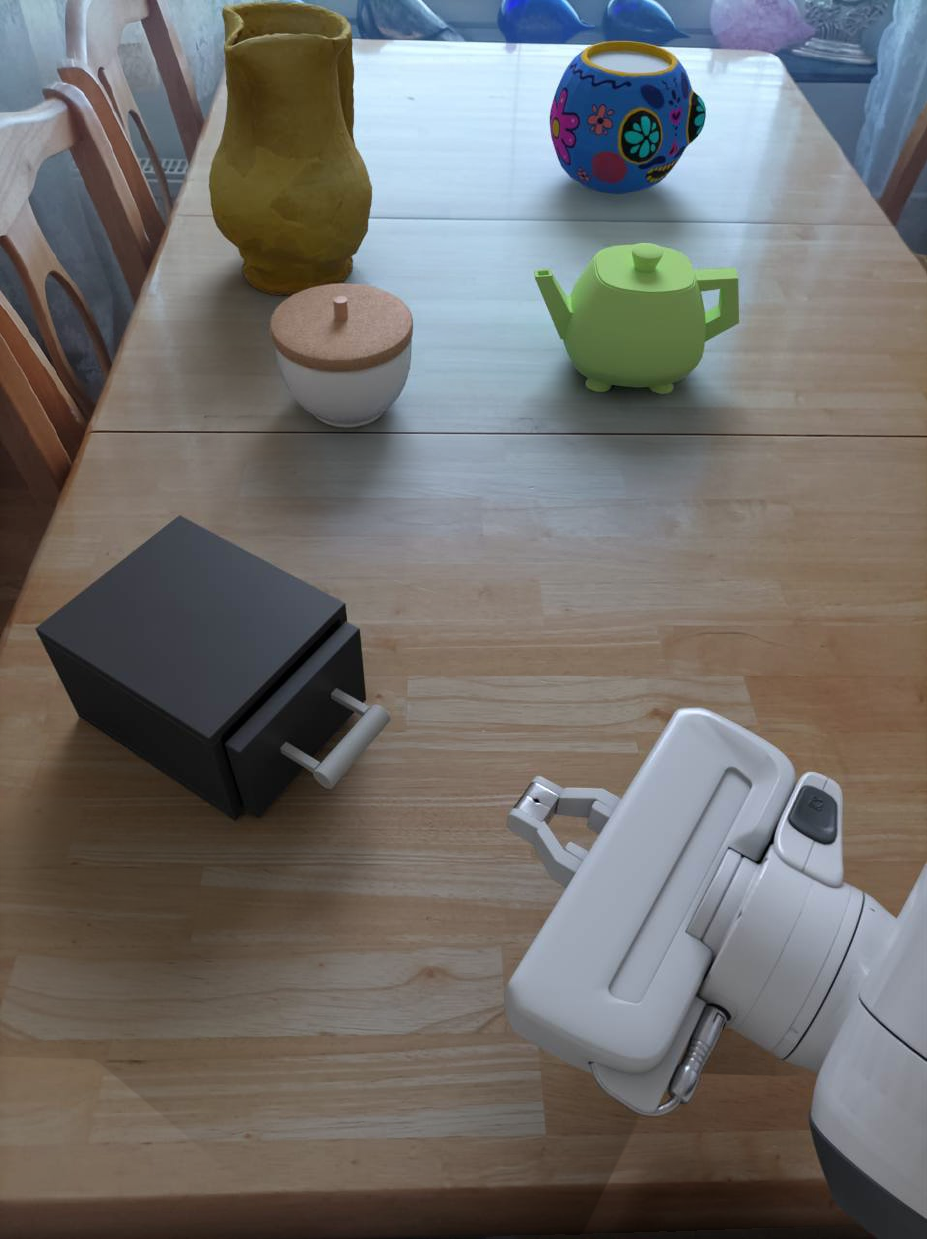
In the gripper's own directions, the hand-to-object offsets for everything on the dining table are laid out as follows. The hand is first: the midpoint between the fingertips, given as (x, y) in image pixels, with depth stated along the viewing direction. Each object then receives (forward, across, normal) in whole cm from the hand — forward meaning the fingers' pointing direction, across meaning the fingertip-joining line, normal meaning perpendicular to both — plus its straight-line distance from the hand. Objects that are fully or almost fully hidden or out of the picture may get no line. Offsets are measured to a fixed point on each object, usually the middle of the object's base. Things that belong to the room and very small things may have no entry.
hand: (520, 800), depth 50 cm
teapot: (+19, +54, -10) cm, 58 cm away
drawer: (+20, 0, -9) cm, 22 cm away
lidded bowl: (+38, +33, -10) cm, 52 cm away
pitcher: (+58, +51, -10) cm, 78 cm away
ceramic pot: (+39, +90, -10) cm, 99 cm away
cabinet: (+24, 0, -10) cm, 26 cm away
